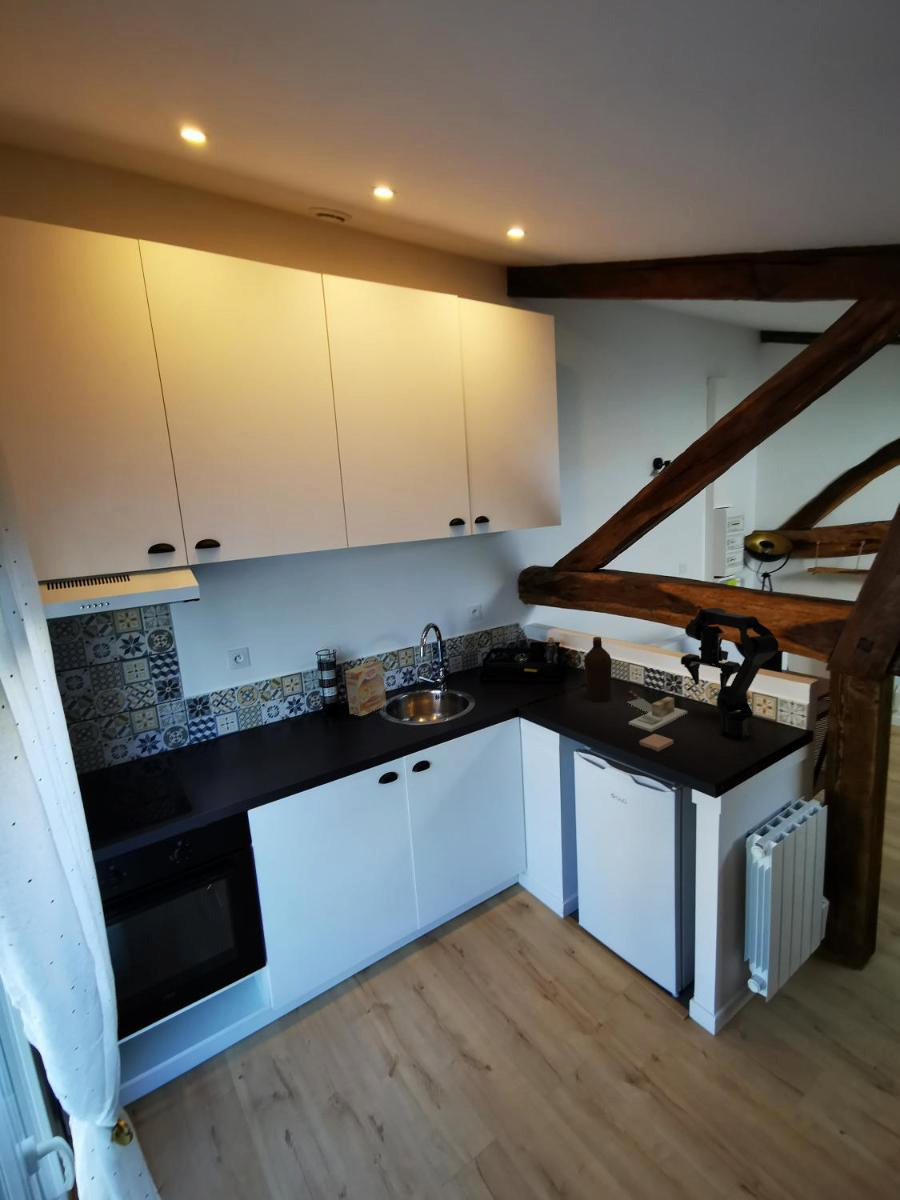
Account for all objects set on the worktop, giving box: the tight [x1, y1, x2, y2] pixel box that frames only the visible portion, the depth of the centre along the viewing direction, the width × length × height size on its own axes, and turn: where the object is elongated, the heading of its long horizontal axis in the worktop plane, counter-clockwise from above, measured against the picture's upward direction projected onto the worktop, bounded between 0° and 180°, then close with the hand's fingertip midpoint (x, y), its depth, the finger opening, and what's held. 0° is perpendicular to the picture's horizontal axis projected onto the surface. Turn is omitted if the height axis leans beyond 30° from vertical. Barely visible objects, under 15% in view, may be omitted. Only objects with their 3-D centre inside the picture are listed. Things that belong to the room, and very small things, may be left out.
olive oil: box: [583, 636, 613, 703], centre depth 223 cm, size 11×11×25 cm
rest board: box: [628, 707, 688, 733], centre depth 201 cm, size 9×22×1 cm, turn 126°
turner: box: [637, 696, 675, 725], centre depth 200 cm, size 16×6×5 cm, turn 126°
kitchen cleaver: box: [626, 690, 652, 713], centre depth 217 cm, size 24×1×10 cm
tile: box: [638, 733, 674, 752], centre depth 182 cm, size 7×2×8 cm
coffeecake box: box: [344, 661, 387, 716], centre depth 229 cm, size 15×7×20 cm, turn 143°
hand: (709, 687), depth 194 cm, fingers open, 9 cm apart
